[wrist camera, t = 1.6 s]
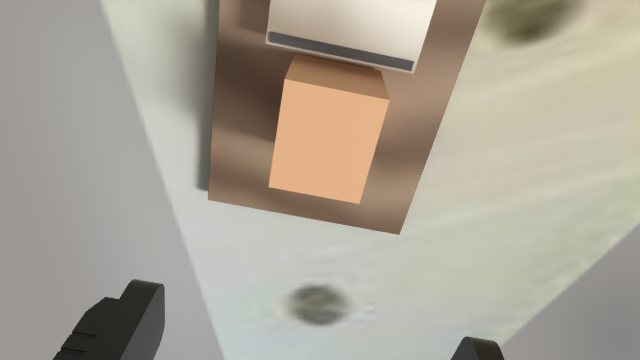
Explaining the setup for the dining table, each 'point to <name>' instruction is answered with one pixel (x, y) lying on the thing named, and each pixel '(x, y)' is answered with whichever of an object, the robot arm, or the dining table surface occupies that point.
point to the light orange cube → (327, 128)
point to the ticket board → (346, 47)
